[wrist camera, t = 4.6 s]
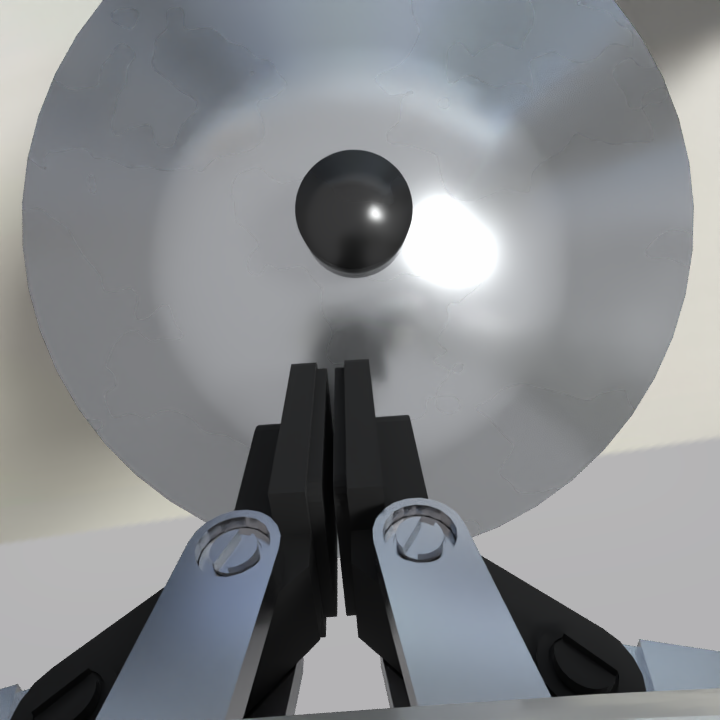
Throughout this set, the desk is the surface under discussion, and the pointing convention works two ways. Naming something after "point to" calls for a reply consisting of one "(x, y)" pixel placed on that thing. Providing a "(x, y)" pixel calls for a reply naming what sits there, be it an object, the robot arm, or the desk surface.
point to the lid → (359, 231)
